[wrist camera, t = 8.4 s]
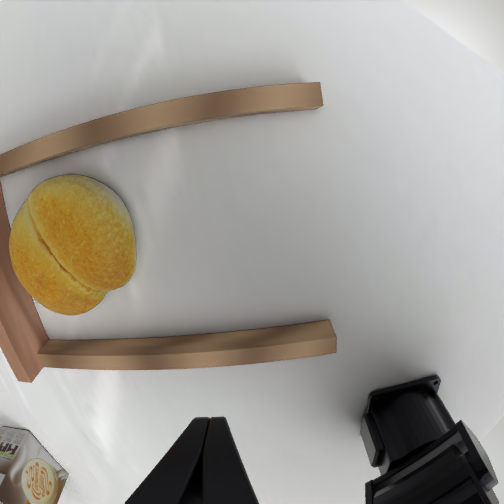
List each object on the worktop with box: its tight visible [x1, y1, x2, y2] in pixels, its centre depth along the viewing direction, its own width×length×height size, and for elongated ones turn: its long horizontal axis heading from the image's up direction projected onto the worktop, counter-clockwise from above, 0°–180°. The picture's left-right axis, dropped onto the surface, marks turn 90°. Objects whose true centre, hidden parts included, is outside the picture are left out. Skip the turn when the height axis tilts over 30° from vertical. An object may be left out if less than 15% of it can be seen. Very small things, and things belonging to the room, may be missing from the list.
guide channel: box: [0, 82, 337, 383], centre depth 17 cm, size 22×15×4 cm
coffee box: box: [0, 426, 68, 504], centre depth 20 cm, size 9×6×16 cm
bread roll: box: [9, 174, 136, 315], centre depth 17 cm, size 8×9×4 cm
